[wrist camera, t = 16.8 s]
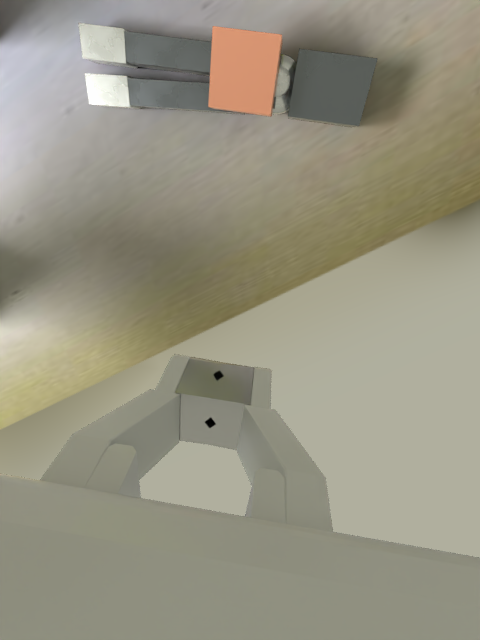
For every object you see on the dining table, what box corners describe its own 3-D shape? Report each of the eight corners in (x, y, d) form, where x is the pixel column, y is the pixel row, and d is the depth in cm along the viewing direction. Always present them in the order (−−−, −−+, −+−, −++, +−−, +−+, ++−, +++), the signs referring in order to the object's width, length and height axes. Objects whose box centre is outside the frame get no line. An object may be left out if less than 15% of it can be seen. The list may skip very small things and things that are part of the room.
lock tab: (282, 41, 24) (281, 34, 22) (271, 116, 26) (270, 115, 24) (218, 34, 24) (212, 26, 22) (213, 108, 26) (208, 106, 25)
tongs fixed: (366, 66, 27) (378, 55, 23) (350, 127, 29) (358, 126, 26) (95, 32, 28) (67, 17, 25) (101, 92, 31) (76, 87, 27)
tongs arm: (291, 75, 28) (291, 66, 24) (286, 119, 30) (285, 117, 26) (97, 63, 29) (70, 53, 26) (103, 106, 31) (78, 102, 28)
